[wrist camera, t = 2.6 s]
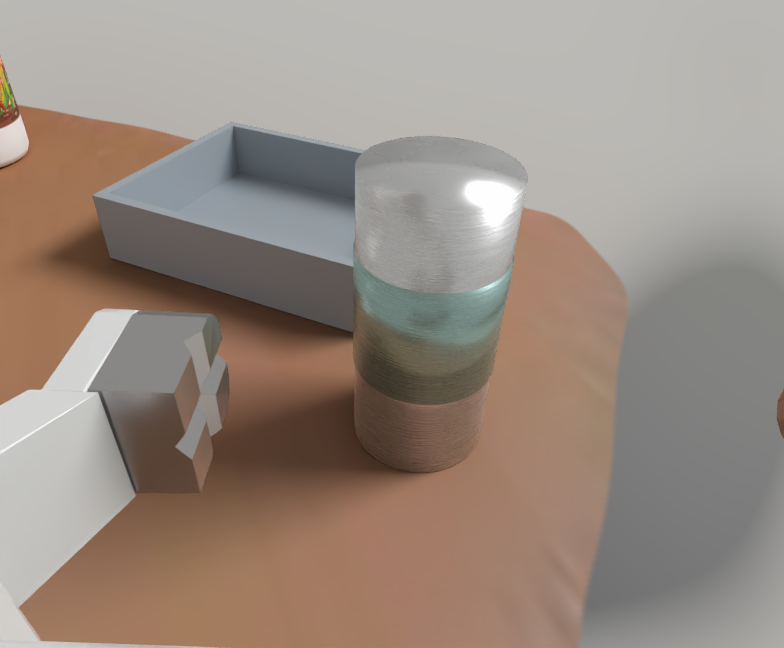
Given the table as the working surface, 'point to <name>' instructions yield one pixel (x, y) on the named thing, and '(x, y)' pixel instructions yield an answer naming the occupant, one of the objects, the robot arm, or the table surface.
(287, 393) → the table surface
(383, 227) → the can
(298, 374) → the table surface
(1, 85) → the milk bottle
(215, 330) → the robot arm
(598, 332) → the table surface
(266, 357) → the table surface
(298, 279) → the tote
